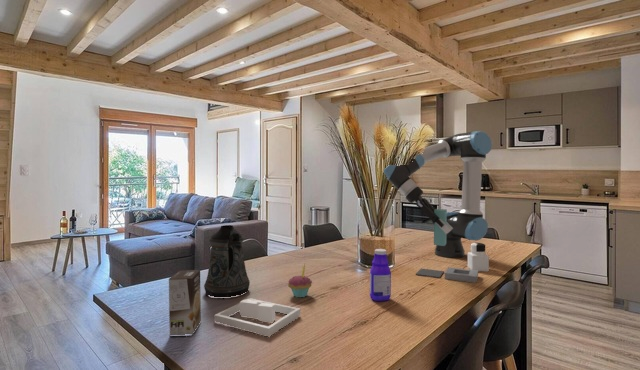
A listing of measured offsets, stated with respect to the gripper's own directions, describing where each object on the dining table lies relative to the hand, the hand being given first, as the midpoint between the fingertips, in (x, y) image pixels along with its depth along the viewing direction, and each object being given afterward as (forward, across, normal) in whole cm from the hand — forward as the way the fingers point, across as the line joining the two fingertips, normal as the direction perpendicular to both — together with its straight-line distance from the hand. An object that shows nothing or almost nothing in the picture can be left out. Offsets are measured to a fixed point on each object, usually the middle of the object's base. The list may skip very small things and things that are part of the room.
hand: (449, 231), depth 151 cm
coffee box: (-28, +87, -57) cm, 108 cm away
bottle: (+1, +39, -27) cm, 48 cm away
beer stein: (-35, +57, -64) cm, 93 cm away
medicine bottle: (+21, -17, -6) cm, 28 cm away
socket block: (+17, 0, -10) cm, 20 cm away
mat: (+8, 0, -19) cm, 21 cm away
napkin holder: (-18, +73, -47) cm, 89 cm away
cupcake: (-18, +49, -46) cm, 69 cm away
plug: (+1, 0, -7) cm, 7 cm away
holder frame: (-18, +73, -47) cm, 88 cm away
